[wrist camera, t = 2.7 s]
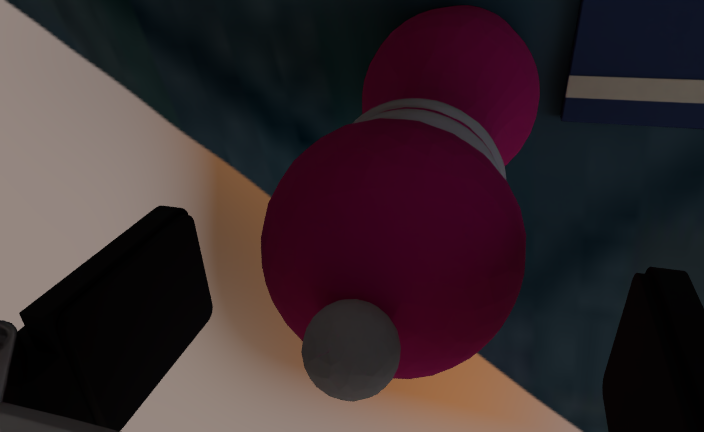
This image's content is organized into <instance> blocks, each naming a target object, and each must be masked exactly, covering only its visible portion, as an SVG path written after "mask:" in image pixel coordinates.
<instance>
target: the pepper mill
mask: <svg viewBox="0 0 704 432" xmlns="http://www.w3.org/2000/svg"><path fill="white" fill-rule="evenodd" d="M539 96H540V90H539V77H538V72H537V67H536V65H535V62H534V59H533V57H532V54H531V52H530V51H529V49H528V47H527V46H526V44H525V43H524V41H523V40H522V39H521V38H520V36H519V35H518V34H517V33H516V32H515V31H514V30H513V29H512V28H511V26H510V25H509V24H508V23H507V22H506V21H505V20H504V19H502V18H501V17H499V16H498V15H496V14H495V13H493V12H490V11H488V10H486V9H483V8H480V7H475V6H470V5H459V6H450V7H444V8H438V9H432V10H429V11H426V12H423V13H421V14H418V15H416V16H414V17H412V18H410V19H409V20H407V21H405V22H404V23H403V24H401V25H400V26H399V27H398V28H396V29H395V30H394V31H392V33H391V34H390V35H389V36H388V37H387V38H386V40H385V41H384V42H383V43H382V44H381V46H380V48H379V49H378V51H377V53H376V54H375V56H374V58H373V60H372V61H371V63H370V66H369V68H368V71H367V74H366V77H365V80H364V86H363V93H362V113H363V114H362V115H361V116H360V117H359V118H358V119H357V120H356V121H355V122H354V123H353V124H348V125H345V126H343V127H341V128H339V129H337V130H335V131H333V132H331V133H329V134H327V135H326V136H324V137H322V138H320V139H319V140H318V141H316V142H315V143H314V144H313V145H311V146H310V147H309V148H308V149H307V150H305V151H304V152H303V153H302V154H301V155H300V156H299V157H298V158H297V159H295V160H294V162H293V163H292V164H291V166H290V167H289V169H288V170H287V172H286V173H285V174H284V176H283V177H282V179H281V180H280V182H279V184H278V186H277V188H276V190H275V192H274V194H273V195H272V197H271V199H270V201H269V203H268V208H267V212H266V216H265V221H264V225H263V231H262V236H261V254H262V268H263V272H264V277H265V282H266V285H267V287H268V291H269V293H270V296H271V299H272V301H273V303H274V305H275V306H276V308H277V310H278V311H279V313H280V314H281V316H282V317H283V319H284V321H285V322H286V324H287V325H288V326H289V327H290V328H291V329H292V330H293V331H294V332H295V334H296V335H297V336H298V337H299V338H300V339H301V340H302V341H303V345H302V357H303V362H304V367H305V369H306V371H307V373H308V375H309V377H310V379H311V380H312V381H313V382H314V384H315V385H316V387H318V388H319V389H320V390H322V391H323V392H325V393H326V394H327V395H329V396H331V397H334V398H337V399H340V400H345V401H357V400H361V399H365V398H369V397H372V396H374V395H376V394H378V393H379V392H380V391H381V390H382V389H384V388H385V387H386V386H387V384H388V383H389V382H390V381H391V380H392V379H393V378H398V379H412V378H419V377H425V376H432V375H434V374H437V373H440V372H442V371H445V370H447V369H450V368H453V367H454V366H456V365H458V364H460V363H462V362H463V361H466V360H467V359H469V358H471V357H472V356H473V355H474V354H476V353H477V352H478V351H480V350H481V349H482V348H483V347H484V346H485V345H486V344H487V343H488V342H489V341H490V340H491V339H492V338H493V337H494V336H495V335H496V333H497V332H498V331H499V330H500V328H501V327H502V325H503V324H504V322H505V321H506V319H507V317H508V316H509V314H510V312H511V310H512V308H513V306H514V304H515V302H516V299H517V297H518V294H519V292H520V288H521V284H522V280H523V276H524V269H525V246H526V233H525V229H524V224H523V219H522V215H521V210H520V207H519V205H518V203H517V201H516V199H515V197H514V195H513V193H512V191H511V189H510V187H509V185H508V183H507V181H506V173H505V167H504V166H505V165H507V164H508V163H509V161H510V160H511V159H512V158H513V157H514V156H515V155H516V154H517V153H518V152H519V151H520V149H521V148H522V146H523V144H524V143H525V141H526V139H527V138H528V136H529V135H530V133H531V130H532V127H533V124H534V121H535V118H536V114H537V109H538V103H539Z"/></svg>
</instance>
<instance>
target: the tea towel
mask: <svg viewBox="0 0 704 432" xmlns="http://www.w3.org/2000/svg"><path fill="white" fill-rule="evenodd" d="M560 117H561V121H568V122H586V123H604V124H622V125H640V126H658V127H676V128H694V129H704V0H581V3H580V9H579V15H578V20H577V26H576V32H575V37H574V43H573V49H572V54H571V60H570V66H569V71H568V77H567V82H566V88H565V94H564V99H563V105H562V111H561V116H560Z"/></svg>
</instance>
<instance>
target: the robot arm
mask: <svg viewBox="0 0 704 432" xmlns="http://www.w3.org/2000/svg"><path fill="white" fill-rule="evenodd" d="M212 308H213V307H212V301H211V296H210V292H209V287H208V282H207V278H206V274H205V269H204V264H203V260H202V255H201V251H200V246H199V242H198V237H197V232H196V228H195V224H194V220H193V218H192V217H191V216H189V215H188V213H187V211H186V210H185V209H183V208H177V207H169V206H158V207H156V208H155V209H154V210H152V211H151V212H150V213H148V214H147V215H146V216H144V217H143V218H142V219H140V220H139V221H138V222H137V223H135V224H134V225H133V226H132V227H130V228H129V229H128V230H126V231H125V232H124V233H122V234H121V235H120V236H118V237H117V238H116V239H115V240H113V241H112V242H111V243H109V244H108V245H107V246H105V247H104V248H103V249H102V250H100V251H99V252H98V253H97V254H95V255H94V256H92V257H91V258H90V259H89V260H87V261H86V262H85V263H83V264H82V265H81V266H80V267H78V268H77V269H76V270H74V271H73V272H72V273H71V274H69V275H68V276H67V277H66V278H64V279H63V280H62V281H60V282H59V283H57V284H56V285H55V286H54V287H52V288H51V289H50V290H48V291H47V292H46V293H45V294H43V295H42V296H41V297H39V298H38V299H37V300H35V301H34V302H33V303H32V304H30V305H29V306H28V307H26V308H25V309H24V310H22V311H21V312H20V313H19V314H20V316H21V318H22V321H23V323H24V325H25V326H24V327H23V328H21V329H20V330H19V331H17V329H16V327H15V326H14V325H13V324H12V323H10V322H6V321H1V320H0V432H120V430H121V429H122V428H123V427H124V426H125V425H126V423H127V422H128V421H129V419H130V418H131V417H132V416H133V414H134V413H135V412H136V411H137V410H138V408H139V407H140V406H141V404H142V403H143V402H144V401H145V400H146V398H147V397H148V396H149V394H150V393H151V392H152V391H153V389H154V388H155V387H156V386H157V384H158V383H159V382H160V381H161V379H162V378H163V377H164V376H165V374H166V373H167V372H168V371H169V369H170V368H171V367H172V366H173V364H174V363H175V362H176V361H177V359H178V358H179V357H180V356H181V354H182V353H183V352H184V351H185V349H186V348H187V347H188V345H189V344H190V343H191V342H192V341H193V339H194V338H195V337H196V336H197V334H198V333H199V332H200V331H201V329H202V328H203V327H204V326H205V324H206V323H207V322H208V320H209V319H210V317H211V314H212ZM603 400H604V406H605V412H606V418H607V424H608V431H609V432H704V308H703V306H702V304H701V302H700V300H699V297H698V295H697V293H696V291H695V289H694V286H693V284H692V282H691V280H690V278H689V276H688V274H687V273H686V272H685V271H680V270H672V269H664V268H656V267H649V268H648V269H647V271H646V273H645V274H641V273H636V274H635V275H634V277H633V280H632V283H631V287H630V290H629V293H628V297H627V300H626V303H625V307H624V310H623V313H622V317H621V320H620V323H619V327H618V330H617V334H616V337H615V340H614V344H613V347H612V350H611V354H610V357H609V360H608V364H607V367H606V370H605V374H604V378H603Z"/></svg>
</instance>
